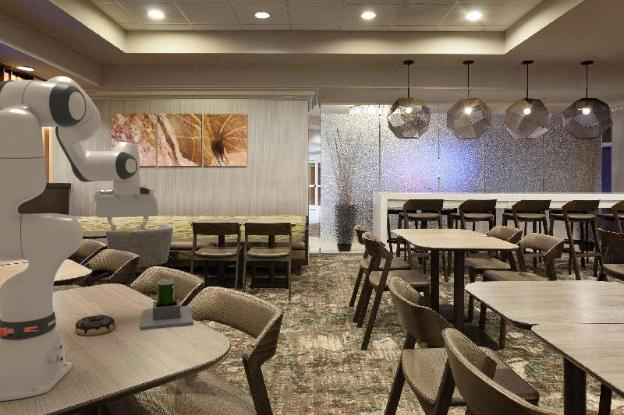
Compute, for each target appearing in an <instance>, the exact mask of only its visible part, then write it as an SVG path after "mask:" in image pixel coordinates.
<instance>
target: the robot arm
mask: <svg viewBox="0 0 624 415" xmlns="http://www.w3.org/2000/svg"><path fill="white" fill-rule="evenodd" d="M101 124H102V118H101V114H100V112H99V109H98V107H97V106H96V105H95V103H94V102H93V100H92V99H91V98H90V96H89V94H88V93H86V92H85V90H84V89H83V87H81V85H79V84H78V83H77V82H76V81H75V80H74V79H72V78H70V77H68V76H66V75H65V76H63V75H58V76H54V77H52V78H51V77H50V78H49V79H48V80H46V81H42V80H38V79H25V80H23V79H21V80H15V79H7V80H3V81H0V262H8V261H9V262H10V261H11V262H12V261H23V260H24V261H28V265H27V267H26V269H24V270H23V271H20V272H19V273H16V274H15V275H12V276H11V277H9V278H8V279H6V280H5V281H4V282H3V283H2V284H1V286H0V402H1V401H4V402H5V401H11V400H18V399H25V398H30V397H34V396H38V395H42V394H46V393H48V392H50V390H52V389H53V388H54V386H56V384H58V383H59V381H61V380H62V379H63V378H64V377H65V376H66V375H67V374H68V372H70V371H72V369H73V366H74V365H73V362H71V361H66V353H65V343H64V336H63V334H62V333H60V332H59V331H58V330H57V329H56V326H57V325H56V324H57V323H56V322H57V317H56V312H55V311H54V301H53V300H54V299H53V298H54V284H55V279H56V276H57V273H58V271H59V269H60V267H61V266H62V265H63V263H65V261H66V260H67V259H68V258H69V257H70V256H72V255H73V254H74V253H75V252H77V250H78V249H79V248H80V246H81V244H82V242H83V239H84V232H83V228H82V225H81V223H80V222H79V220H78V219H77V218H76V217H75V216H74V215H70V214H64V213H54V212H50V213H49V212H48V213H47V212H45V213H20V212H19V211H18V210H19V207H20V206H21V205H22V204H24V203H25V202H28V201H31V200H32V199H34V198H37V197H38V196H40V195H41V194H42V193H43V192H44V191H45V189H46V186H47V173H46V172H47V171H46V169H47V168H46V154H45V144H44V137H43V133H42V128H53V127H55V128H54V130H55V137H56V139H57V142H58V144H59V146H60V148H61V149H62V151H63V153H64V154H65V157H66V159H67V160H68V163H69V164H70V168H71V171H72V173H73V175H74V176H75V178H77V179H78V180H79V182H83V183H89V182H110V181H112V189H108V190H103V189H100V190H98V191H97V192H95V193H94V195H93V197H94V202H95V217H97V218H98V219H100V218H101V219H103V218H105V219H107V223H108V224H109V226H110V230H111V232H112V231H113V232H115V231H117V225H116V224H114V223H113V218H130V217H132V218H133V217H134V218H135V217H143V220H144V222H143V223H140V230H143V231H144V230H146V224H147V222H148V220H149V217H157V216H158V215H159V212H160V211H159V204H158V199H157V197H156V196H155V195H154V194H155V189H154V188H153V187H150V186H147V185H142V184H141V177H140V169H141V166H140V165H141V163H140V162H141V161H140V154H139V153H140V152H139V149H138V146H137V145H136V143H134V142H131V141H122V140H121V141H115V142H114V143H113V145H112V149H110V150H97V151H96V150H88V149H84V147H83V145H82V142H86V141H88V140H90V139H91V138H92V137H94V136H95V135H96V133H97V132H98V131H99V129H100V127H101Z"/></svg>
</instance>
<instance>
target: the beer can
mask: <svg viewBox="0 0 624 415" xmlns="http://www.w3.org/2000/svg"><path fill="white" fill-rule="evenodd" d="M174 282H175V281H174V279H173V278H170V277H169V278H167V277H166V278H165V277H164V278H160V279H157V283H156V294H157V298H156V299H157V300H156V301H158V307H165V306H174V300H175V283H174Z"/></svg>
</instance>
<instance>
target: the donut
mask: <svg viewBox="0 0 624 415" xmlns="http://www.w3.org/2000/svg"><path fill="white" fill-rule="evenodd" d="M115 327H116V324H115V319H114V318H113V317H112V316H111V315H108V314H107V315H106V314H96V315H89V316H85V317H82V318H80V319H78V320H77V321H76V322H75V329H74V331H75V333H77V334H78V335H82V336H99V335H103V334H106V333H109V332H111V331H113V330H114V328H115Z"/></svg>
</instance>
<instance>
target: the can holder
mask: <svg viewBox="0 0 624 415" xmlns="http://www.w3.org/2000/svg"><path fill="white" fill-rule="evenodd" d="M180 300H181V299H174V306H165V307H158V300H155V301H153V302H152V308H146V309H143V310H142V314H141V318H140V325H139V330H140V331H144V330H155V329H166V328H176V327H185V326H186V327H187V326H193V325H194V320H193V313H192V308H191V305H183V306H181V302H180Z"/></svg>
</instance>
